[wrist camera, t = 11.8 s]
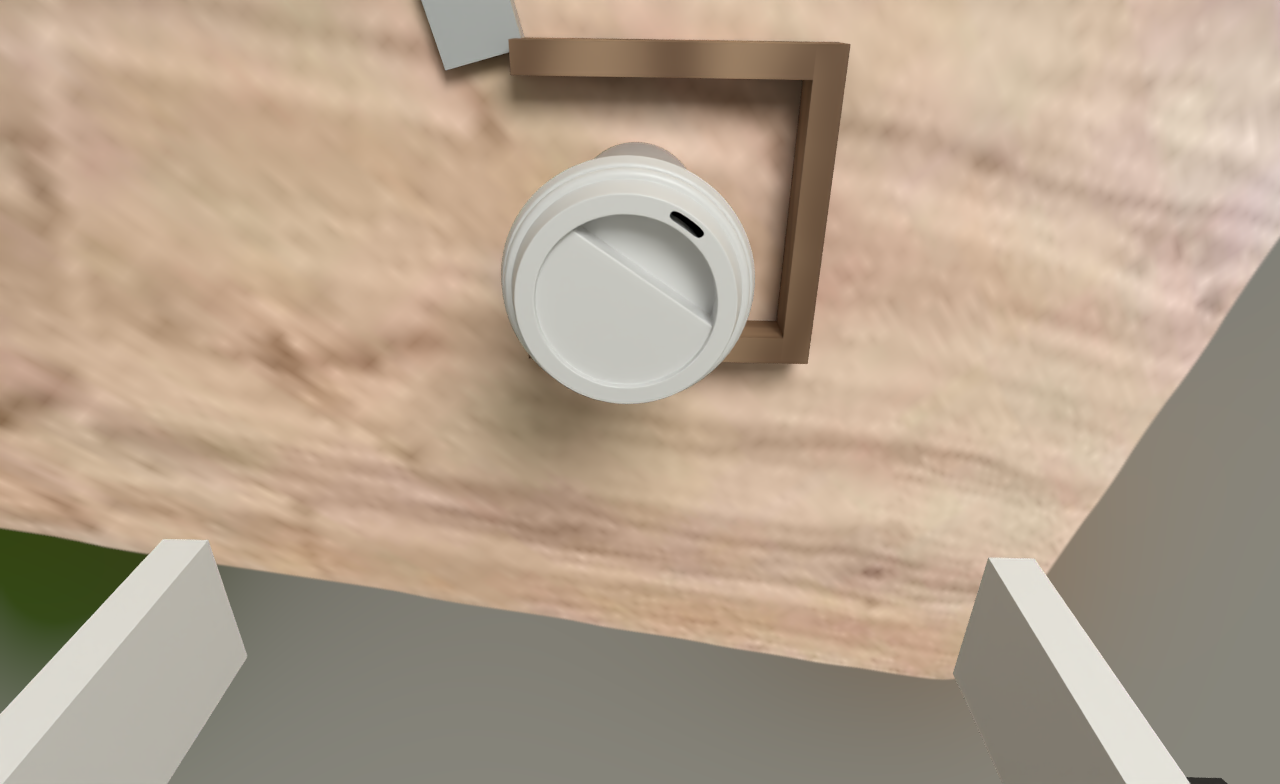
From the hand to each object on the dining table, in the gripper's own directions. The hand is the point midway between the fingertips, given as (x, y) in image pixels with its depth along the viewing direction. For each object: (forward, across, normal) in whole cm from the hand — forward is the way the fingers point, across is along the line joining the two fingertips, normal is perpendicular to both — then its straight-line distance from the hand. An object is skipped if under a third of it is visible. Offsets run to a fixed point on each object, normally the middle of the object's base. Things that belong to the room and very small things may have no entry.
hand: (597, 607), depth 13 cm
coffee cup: (+30, 0, 0) cm, 30 cm away
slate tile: (+30, -8, +9) cm, 32 cm away
